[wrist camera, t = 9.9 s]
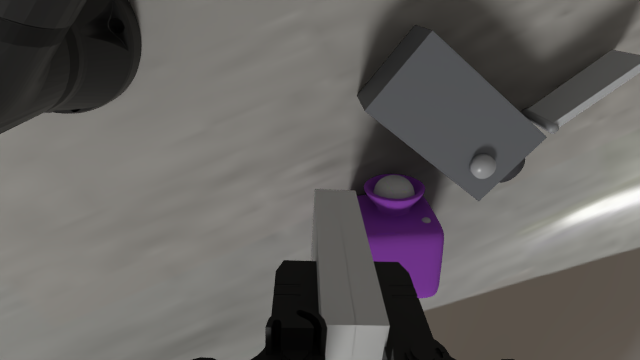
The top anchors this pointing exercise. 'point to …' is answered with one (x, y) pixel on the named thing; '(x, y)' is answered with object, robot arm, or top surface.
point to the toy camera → (403, 228)
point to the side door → (583, 90)
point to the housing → (449, 113)
